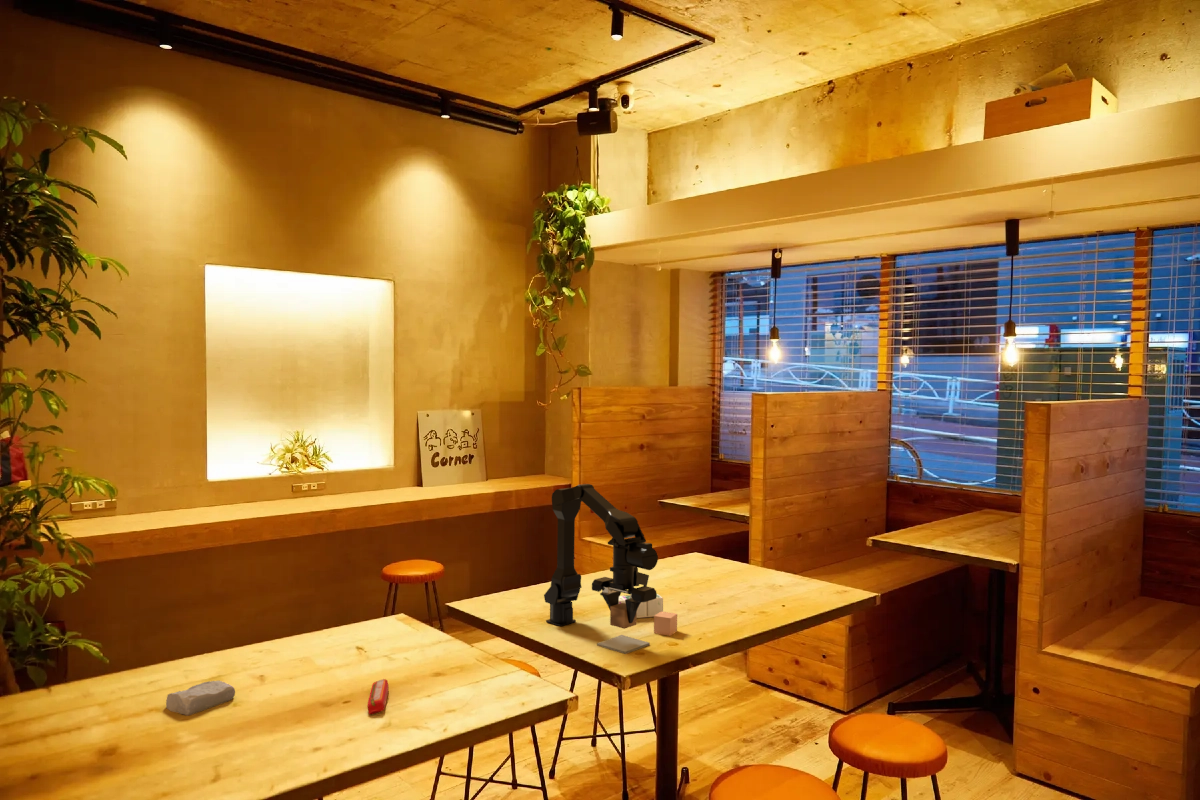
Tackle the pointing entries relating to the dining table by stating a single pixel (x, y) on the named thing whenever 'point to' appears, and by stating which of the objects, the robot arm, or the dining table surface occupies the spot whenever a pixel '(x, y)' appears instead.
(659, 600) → the syrup box
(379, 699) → the candy bar
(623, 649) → the coaster
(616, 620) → the walnut cube
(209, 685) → the stone block
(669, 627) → the terracotta cube
